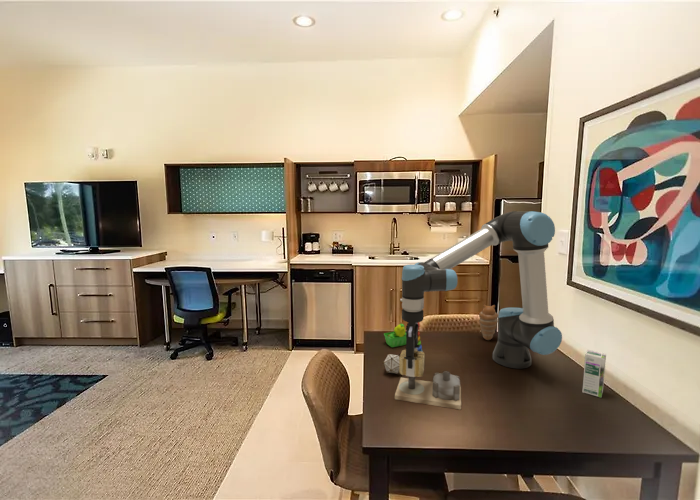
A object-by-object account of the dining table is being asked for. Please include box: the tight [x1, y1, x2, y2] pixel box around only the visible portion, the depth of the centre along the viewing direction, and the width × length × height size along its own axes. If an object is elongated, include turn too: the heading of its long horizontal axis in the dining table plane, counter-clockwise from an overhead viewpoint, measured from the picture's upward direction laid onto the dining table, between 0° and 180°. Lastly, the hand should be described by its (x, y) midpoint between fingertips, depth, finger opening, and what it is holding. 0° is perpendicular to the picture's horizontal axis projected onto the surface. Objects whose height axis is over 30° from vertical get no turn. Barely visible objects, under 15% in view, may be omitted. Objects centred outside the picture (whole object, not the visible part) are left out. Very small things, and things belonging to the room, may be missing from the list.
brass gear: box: [398, 349, 426, 378], centre depth 123 cm, size 8×8×6 cm
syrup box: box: [581, 349, 607, 398], centre depth 122 cm, size 6×6×14 cm
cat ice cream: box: [478, 303, 499, 341], centre depth 170 cm, size 9×8×18 cm
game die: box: [381, 351, 401, 377], centre depth 138 cm, size 9×8×10 cm
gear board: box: [394, 370, 462, 410], centre depth 122 cm, size 22×13×9 cm, turn 72°
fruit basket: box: [383, 323, 406, 348], centre depth 166 cm, size 11×9×11 cm
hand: (411, 370), depth 123 cm, fingers closed on brass gear, 8 cm apart
